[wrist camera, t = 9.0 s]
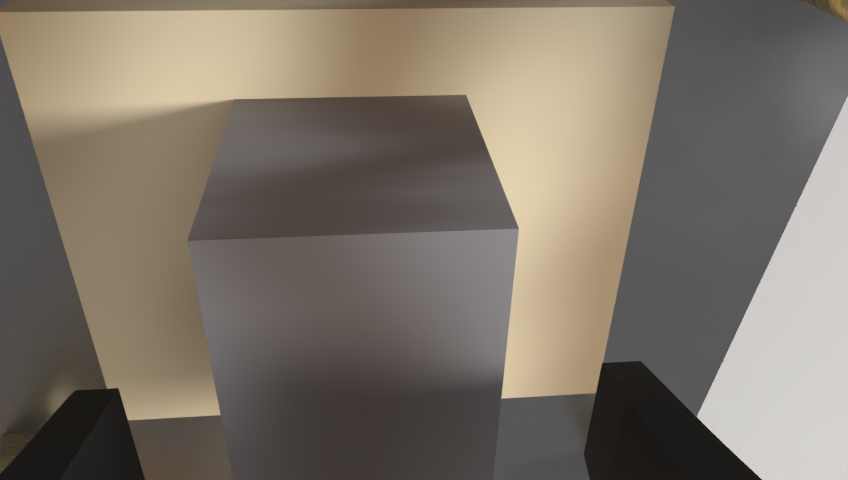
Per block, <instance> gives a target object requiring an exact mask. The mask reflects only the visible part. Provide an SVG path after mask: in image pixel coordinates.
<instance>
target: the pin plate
mask: <svg viewBox="0 0 848 480" xmlns="http://www.w3.org/2000/svg"><path fill="white" fill-rule="evenodd" d="M9 1H11V0H0V7H2V6H3V5H5V4H6V3H8V2H9ZM666 1H668V2H669V3H671V4H672V5H674V6H675V9H674V14H673V19H672V24H671V29H670V34H669V39H668V43H667V48H666V53H665V58H664V63H663V68H662V73H661V78H660V83H659V88H658V93H657V98H656V103H655V108H654V113H653V118H652V123H651V128H650V133H649V138H648V142H647V147H646V152H645V157H644V162H643V167H642V172H641V177H640V182H639V187H638V192H637V197H636V202H635V207H634V212H633V217H632V222H631V227H630V232H629V237H628V242H627V246H626V251H625V256H624V261H623V266H622V271H621V276H620V281H619V286H618V291H617V296H616V301H615V306H614V311H613V316H612V321H611V326H610V331H609V336H608V341H607V345H606V350H605V355H604V360H603V363H610V362H629V361H641V362H642V363H643V364H644V365H645V366H646V367H647V368H648V369H649V370H650V371H651V372H652V373H653V374H654V375H655V376H656V377H657V378H658V379H659V380H660V381H661V382H662V383H663V384H664V385H665V386H666V387H667V388H668V389H669V390H670V391H671V392H672V393H673V394H674V395H675V396H676V397H677V398H678V399H679V400H680V401H681V402H682V403H683V404H684V405H685V406H686V407H687V408H688V409H689V410H690V411H691V412H692V413H693V414H694V415H695V416H696V417H697V415H698V412H699V410H700V408H701V406H702V404H703V402H704V400H705V398H706V395H707V393H708V391H709V389H710V387H711V385H712V383H713V381H714V378H715V376H716V374H717V372H718V370H719V368H720V366H721V364H722V361H723V359H724V357H725V355H726V353H727V351H728V349H729V347H730V344H731V342H732V340H733V338H734V336H735V334H736V332H737V330H738V327H739V325H740V323H741V321H742V319H743V317H744V315H745V313H746V310H747V308H748V306H749V304H750V302H751V300H752V298H753V296H754V293H755V291H756V289H757V287H758V285H759V283H760V281H761V279H762V276H763V274H764V272H765V270H766V268H767V266H768V264H769V262H770V259H771V257H772V255H773V253H774V251H775V249H776V247H777V245H778V242H779V240H780V238H781V236H782V234H783V232H784V230H785V228H786V225H787V223H788V221H789V219H790V217H791V215H792V213H793V211H794V208H795V206H796V204H797V202H798V200H799V198H800V196H801V194H802V191H803V189H804V187H805V185H806V183H807V181H808V179H809V177H810V175H811V172H812V170H813V168H814V166H815V164H816V162H817V160H818V158H819V155H820V153H821V151H822V149H823V147H824V145H825V143H826V141H827V138H828V136H829V134H830V132H831V130H832V128H833V126H834V124H835V121H836V119H837V117H838V115H839V113H840V111H841V109H842V107H843V104H844V102H845V100H846V98H847V96H848V0H666ZM92 389H107V387H106V383H105V380H104V377H103V373H102V370H101V367H100V363H99V360H98V357H97V354H96V350H95V347H94V344H93V340H92V337H91V334H90V330H89V327H88V324H87V321H86V317H85V314H84V311H83V307H82V304H81V301H80V297H79V294H78V291H77V287H76V284H75V281H74V278H73V274H72V271H71V268H70V264H69V261H68V258H67V254H66V251H65V248H64V245H63V241H62V238H61V235H60V231H59V228H58V225H57V221H56V218H55V215H54V211H53V208H52V205H51V202H50V198H49V195H48V192H47V188H46V185H45V182H44V178H43V175H42V172H41V169H40V165H39V162H38V159H37V155H36V152H35V149H34V145H33V142H32V139H31V135H30V132H29V129H28V126H27V122H26V119H25V116H24V112H23V109H22V106H21V102H20V99H19V96H18V93H17V89H16V86H15V83H14V79H13V76H12V73H11V69H10V66H9V63H8V59H7V56H6V53H5V50H4V46H3V43H2V40H1V36H0V473H1V472H2V471H3V470H4V469H5V468H6V466H7V465H8V464H9V463H10V462H11V461H12V460H13V459H14V458H15V456H16V455H17V454H18V453H19V452H20V451H21V450H22V449H23V448H24V446H25V445H26V444H27V443H28V442H29V441H30V440H31V438H32V437H33V436H34V435H35V434H36V433H37V432H38V431H39V429H40V428H41V427H42V426H43V425H44V424H45V423H46V421H47V420H48V419H49V418H50V417H51V416H52V415H53V414H54V412H55V411H56V410H57V409H58V408H59V407H60V406H61V405H62V404H63V402H64V401H65V400H66V399H67V398H68V397H69V396H70V395H71V394H72V393H73V392H74V391H75V390H92ZM595 395H596V393H589V394H572V395H555V396H538V397H521V398H504V399H501V407H500V416H499V426H498V435H497V445H496V455H495V464H494V474H493V480H590V478H589V474H588V470H587V466H586V462H585V457H584V450H585V445H586V440H587V435H588V430H589V425H590V420H591V415H592V410H593V405H594V400H595ZM128 423H129V426H130V430H131V433H132V436H133V440H134V443H135V447H136V450H137V453H138V457H139V460H140V464H141V467H142V471H143V474H144V477H145V480H233V477H232V472H231V467H230V462H229V457H228V451H227V446H226V441H225V436H224V430H223V425H222V420H221V415H213V416H196V417H179V418H161V419H144V420H128Z"/></svg>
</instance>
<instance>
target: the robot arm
mask: <svg viewBox="0 0 848 480" xmlns="http://www.w3.org/2000/svg"><path fill="white" fill-rule="evenodd" d="M584 457H585V462H586V466H587V470H588V474H589V478H590V480H762V479H760V478H759V477H758V476H757V475H756V474H755V473H754V472H753V471H752V470H751V469H750V468H749V467H748V466H747V465H745V464H744V463H743V462H742V461H741V460H740V459H739V458H738V457H737V456H736V455H735V454H734V453H733V452H732V451H731V450H730V449H729V448H727V447H726V446H725V445H724V444H723V443H722V442H721V441H720V440H719V439H718V438H717V437H716V436H715V435H714V434H713V433H712V432H711V431H710V430H709V429H708V428H707V427H706V426H705V425H704V424H703V423H702V422H701V421H700V420H699V419H698V418H697V417H696V416H695V415H694V414H693V413H692V412H691V411H690V410H689V409H688V408H687V407H686V406H685V405H684V404H683V403H682V402H681V401H680V400H679V399H678V398H677V397H676V396H675V395H674V394H673V393H672V392H671V391H670V390H669V389H668V388H667V387H666V386H665V385H664V384H663V383H662V382H661V381H660V380H659V379H658V378H657V377H656V376H655V375H654V374H653V373H652V372H651V371H650V370H649V369H648V368H647V367H646V366H645V365H644V364H643V363H642V362H641V361H629V362H610V363H602V366H601V371H600V376H599V381H598V386H597V391H596V395H595V400H594V405H593V410H592V415H591V420H590V425H589V430H588V435H587V440H586V445H585V450H584ZM0 480H145V477H144V474H143V471H142V467H141V464H140V460H139V457H138V453H137V450H136V447H135V443H134V440H133V436H132V433H131V430H130V426H129V423H128V419H127V416H126V412H125V409H124V406H123V402H122V399H121V395H120V392H119V388H111V389H92V390H75V391H74V392H73V393H72V394H71V395H70V396H69V397H68V398H67V399H66V400H65V401H64V402H63V404H62V405H61V406H60V407H59V408H58V409H57V410H56V411H55V412H54V414H53V415H52V416H51V417H50V418H49V419H48V420H47V421H46V423H45V424H44V425H43V426H42V427H41V428H40V429H39V431H38V432H37V433H36V434H35V435H34V436H33V437H32V438H31V440H30V441H29V442H28V443H27V444H26V445H25V446H24V448H23V449H22V450H21V451H20V452H19V453H18V454H17V455H16V456H15V458H14V459H13V460H12V461H11V462H10V463H9V464H8V465H7V466H6V468H5V469H4V470H3V471H2V472H1V473H0Z"/></svg>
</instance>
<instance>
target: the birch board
mask: <svg viewBox="0 0 848 480" xmlns="http://www.w3.org/2000/svg"><path fill="white" fill-rule="evenodd" d="M674 9H675V6H674V5H672V4H671V3H669V2H668V1H666V0H11V1H9V2H8V3H6V4H5V5H3V6H2V7H0V36H1V40H2V43H3V46H4V50H5V53H6V56H7V59H8V63H9V66H10V69H11V73H12V76H13V79H14V83H15V86H16V89H17V93H18V96H19V99H20V102H21V106H22V109H23V112H24V116H25V119H26V122H27V126H28V129H29V132H30V135H31V139H32V142H33V145H34V149H35V152H36V155H37V159H38V162H39V165H40V169H41V172H42V175H43V178H44V182H45V185H46V188H47V192H48V195H49V198H50V202H51V205H52V208H53V211H54V215H55V218H56V221H57V225H58V228H59V231H60V235H61V238H62V241H63V245H64V248H65V251H66V254H67V258H68V261H69V264H70V268H71V271H72V274H73V278H74V281H75V284H76V287H77V291H78V294H79V297H80V301H81V304H82V307H83V311H84V314H85V317H86V321H87V324H88V327H89V330H90V334H91V337H92V340H93V344H94V347H95V350H96V354H97V357H98V360H99V363H100V367H101V370H102V373H103V377H104V380H105V383H106V387H107V389H111V388H119V392H120V395H121V399H122V402H123V406H124V409H125V412H126V416H127V419H128V420H144V419H161V418H179V417H196V416H213V415H221V420H222V425H223V430H224V436H225V441H226V446H227V451H228V457H229V462H230V467H231V472H232V477H233V480H493V474H494V464H495V455H496V445H497V435H498V426H499V416H500V407H501V399H504V398H521V397H538V396H555V395H572V394H589V393H596V391H597V386H598V381H599V376H600V371H601V366H602V363H603V360H604V355H605V350H606V345H607V341H608V336H609V331H610V326H611V321H612V316H613V311H614V306H615V301H616V296H617V291H618V286H619V281H620V276H621V271H622V266H623V261H624V256H625V251H626V246H627V242H628V237H629V232H630V227H631V222H632V217H633V212H634V207H635V202H636V197H637V192H638V187H639V182H640V177H641V172H642V167H643V162H644V157H645V152H646V147H647V142H648V138H649V133H650V128H651V123H652V118H653V113H654V108H655V103H656V98H657V93H658V88H659V83H660V78H661V73H662V68H663V63H664V58H665V53H666V48H667V43H668V39H669V34H670V29H671V24H672V19H673V14H674Z"/></svg>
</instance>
